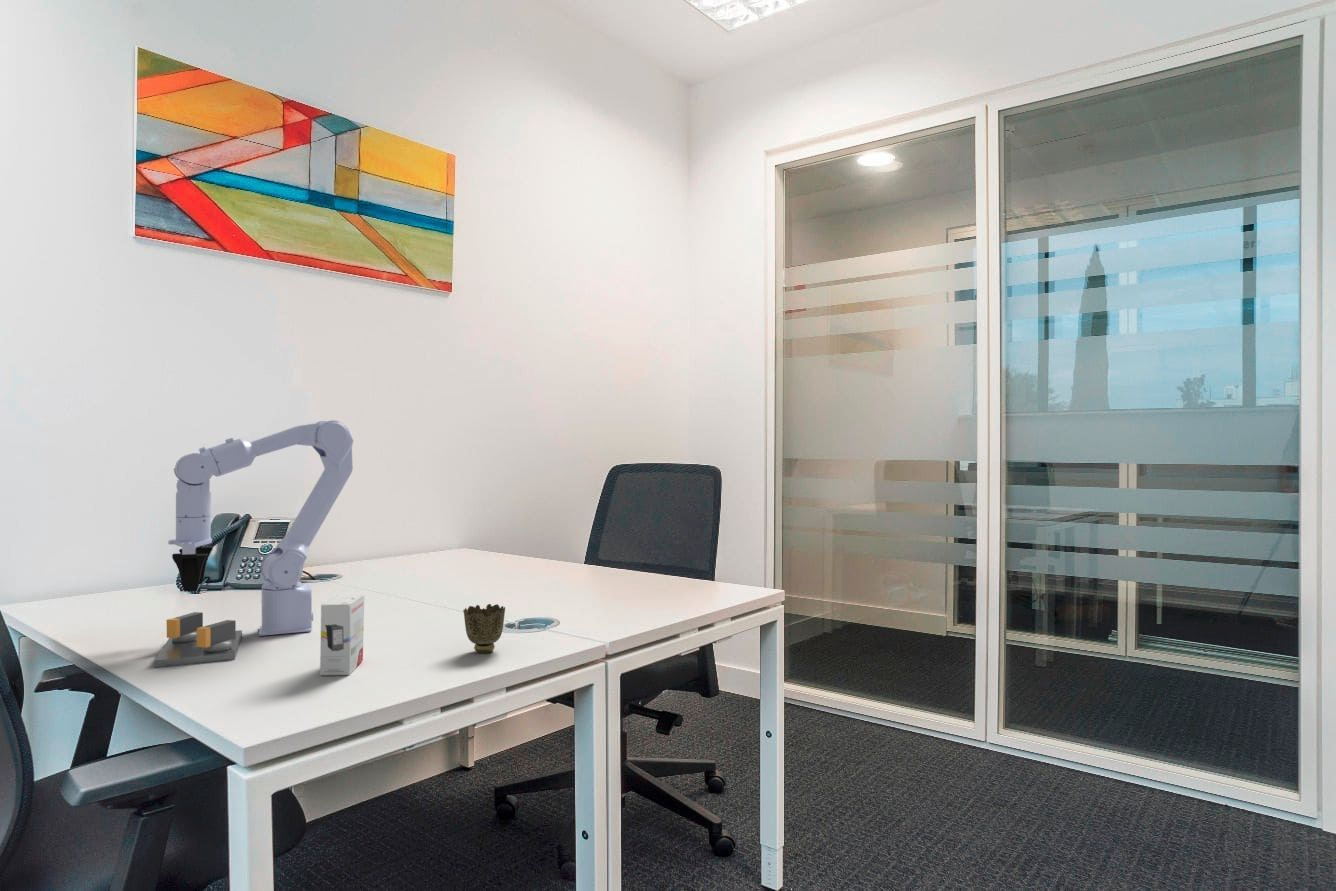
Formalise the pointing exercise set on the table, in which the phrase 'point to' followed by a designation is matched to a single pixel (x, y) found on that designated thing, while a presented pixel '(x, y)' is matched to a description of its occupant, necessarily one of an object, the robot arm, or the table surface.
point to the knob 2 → (216, 636)
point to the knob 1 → (184, 627)
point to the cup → (484, 626)
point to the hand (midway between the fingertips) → (193, 587)
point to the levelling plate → (193, 653)
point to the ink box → (342, 634)
